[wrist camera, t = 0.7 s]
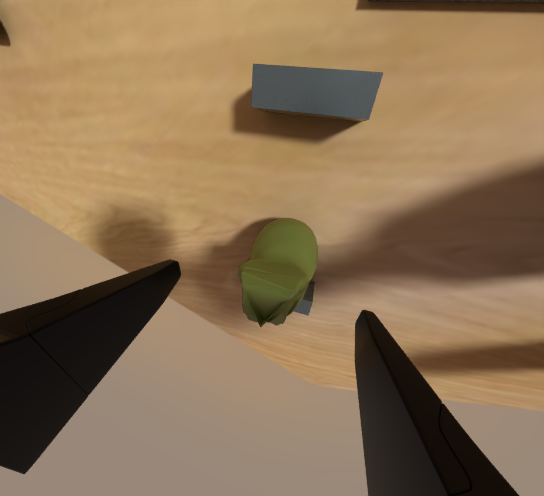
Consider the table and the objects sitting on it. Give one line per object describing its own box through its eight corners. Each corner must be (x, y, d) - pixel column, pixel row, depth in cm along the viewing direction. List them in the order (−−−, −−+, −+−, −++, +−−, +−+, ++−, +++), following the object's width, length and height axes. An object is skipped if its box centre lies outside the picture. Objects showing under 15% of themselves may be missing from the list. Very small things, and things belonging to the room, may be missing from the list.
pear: (262, 251, 21) (219, 329, 13) (265, 205, 18) (213, 266, 10) (314, 262, 20) (303, 354, 12) (325, 215, 17) (321, 291, 9)
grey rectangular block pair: (372, 84, 12) (383, 72, 10) (310, 295, 22) (308, 315, 20) (267, 76, 13) (252, 63, 11) (253, 280, 24) (244, 298, 21)
